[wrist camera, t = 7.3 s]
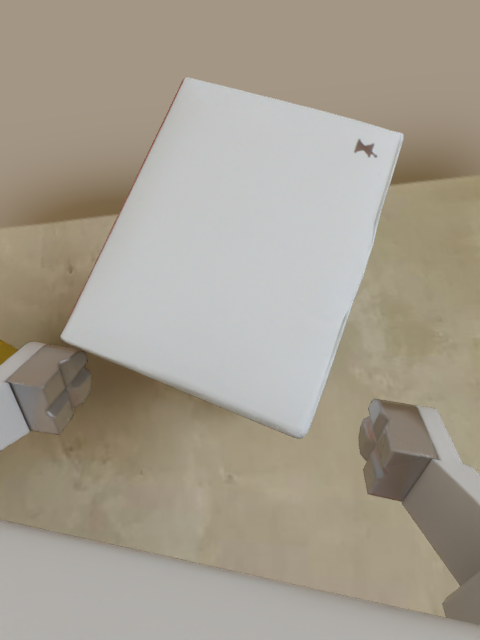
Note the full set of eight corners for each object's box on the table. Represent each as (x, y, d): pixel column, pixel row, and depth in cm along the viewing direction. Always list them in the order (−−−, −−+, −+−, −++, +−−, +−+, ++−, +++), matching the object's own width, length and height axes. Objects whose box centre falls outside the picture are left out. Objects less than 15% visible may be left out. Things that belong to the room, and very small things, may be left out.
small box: (227, 255, 22) (183, 65, 9) (318, 286, 21) (415, 126, 8) (180, 370, 20) (48, 341, 7) (276, 407, 19) (314, 446, 7)
